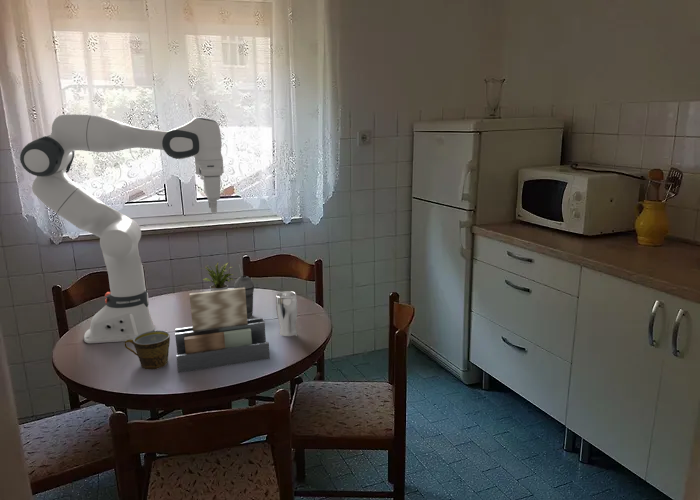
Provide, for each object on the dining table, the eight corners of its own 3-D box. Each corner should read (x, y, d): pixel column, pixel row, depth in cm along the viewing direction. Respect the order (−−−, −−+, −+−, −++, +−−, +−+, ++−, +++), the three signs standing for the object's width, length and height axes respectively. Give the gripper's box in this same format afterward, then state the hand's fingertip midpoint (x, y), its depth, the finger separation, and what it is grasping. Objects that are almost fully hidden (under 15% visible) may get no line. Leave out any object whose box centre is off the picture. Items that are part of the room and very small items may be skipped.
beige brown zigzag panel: (195, 358, 156) (189, 294, 151) (195, 356, 158) (189, 293, 153) (249, 350, 161) (245, 288, 156) (248, 348, 162) (244, 287, 157)
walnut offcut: (187, 368, 149) (184, 339, 147) (187, 365, 151) (184, 337, 149) (226, 363, 153) (224, 334, 151) (225, 360, 155) (223, 331, 152)
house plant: (202, 309, 201) (198, 269, 197) (196, 299, 213) (192, 260, 209) (238, 303, 207) (235, 264, 203) (231, 293, 219) (228, 256, 215)
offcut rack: (178, 377, 148) (175, 343, 145) (178, 361, 158) (175, 328, 155) (270, 363, 155) (268, 330, 153) (264, 348, 166) (262, 317, 163)
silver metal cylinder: (300, 339, 172) (298, 296, 168) (279, 342, 170) (277, 298, 166) (296, 331, 178) (294, 290, 175) (276, 334, 176) (273, 292, 173)
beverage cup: (251, 320, 189) (248, 267, 184) (233, 319, 190) (229, 266, 186) (259, 313, 196) (255, 262, 191) (240, 312, 197) (237, 261, 192)
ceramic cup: (177, 360, 158) (174, 330, 156) (166, 376, 148) (163, 343, 146) (134, 361, 158) (130, 331, 156) (121, 377, 148) (116, 345, 146)
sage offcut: (222, 359, 155) (220, 334, 153) (221, 357, 157) (219, 332, 155) (252, 355, 157) (251, 330, 156) (251, 352, 159) (250, 328, 157)
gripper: (197, 166, 179) (201, 206, 182) (201, 171, 160) (205, 215, 164) (216, 165, 181) (219, 205, 184) (222, 170, 162) (225, 214, 166)
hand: (212, 210), depth 174 cm, fingers open, 8 cm apart
